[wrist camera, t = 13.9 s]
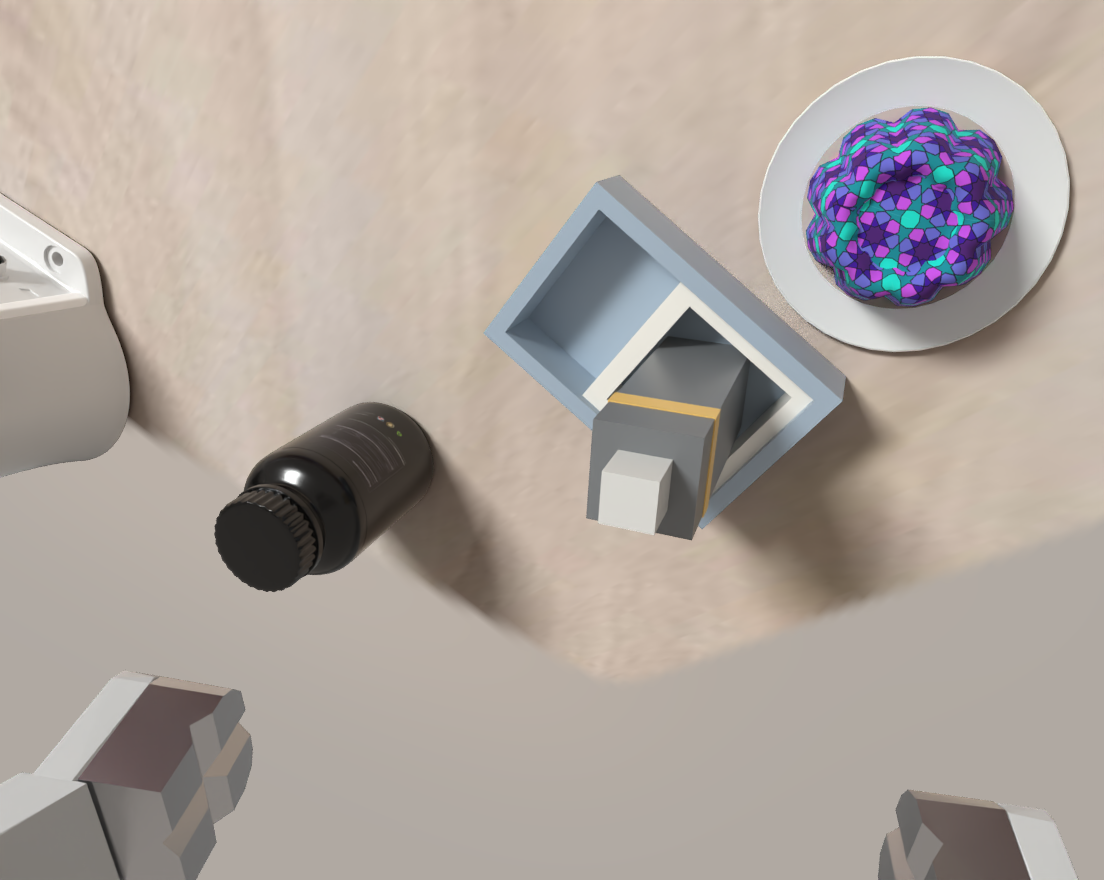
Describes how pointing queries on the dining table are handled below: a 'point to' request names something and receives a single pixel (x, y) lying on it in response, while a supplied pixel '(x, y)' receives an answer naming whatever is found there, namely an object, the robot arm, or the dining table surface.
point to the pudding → (914, 203)
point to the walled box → (658, 327)
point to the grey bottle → (667, 438)
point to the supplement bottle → (325, 497)
